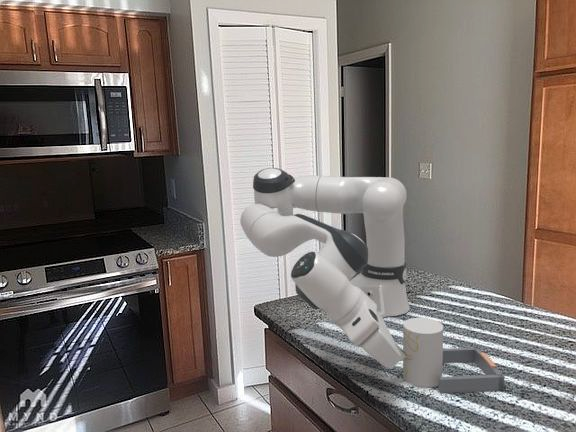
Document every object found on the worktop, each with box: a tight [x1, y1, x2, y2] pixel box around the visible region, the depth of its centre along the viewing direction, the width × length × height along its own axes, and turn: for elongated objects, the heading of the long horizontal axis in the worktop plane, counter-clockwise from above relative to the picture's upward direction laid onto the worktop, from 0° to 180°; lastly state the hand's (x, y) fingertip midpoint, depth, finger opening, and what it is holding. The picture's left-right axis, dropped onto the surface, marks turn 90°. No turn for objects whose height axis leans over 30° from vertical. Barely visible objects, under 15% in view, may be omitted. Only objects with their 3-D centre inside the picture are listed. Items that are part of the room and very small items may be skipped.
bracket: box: [438, 347, 506, 394], centre depth 99 cm, size 13×13×4 cm
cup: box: [402, 317, 444, 389], centre depth 98 cm, size 8×8×12 cm
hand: (401, 356), depth 97 cm, fingers closed
